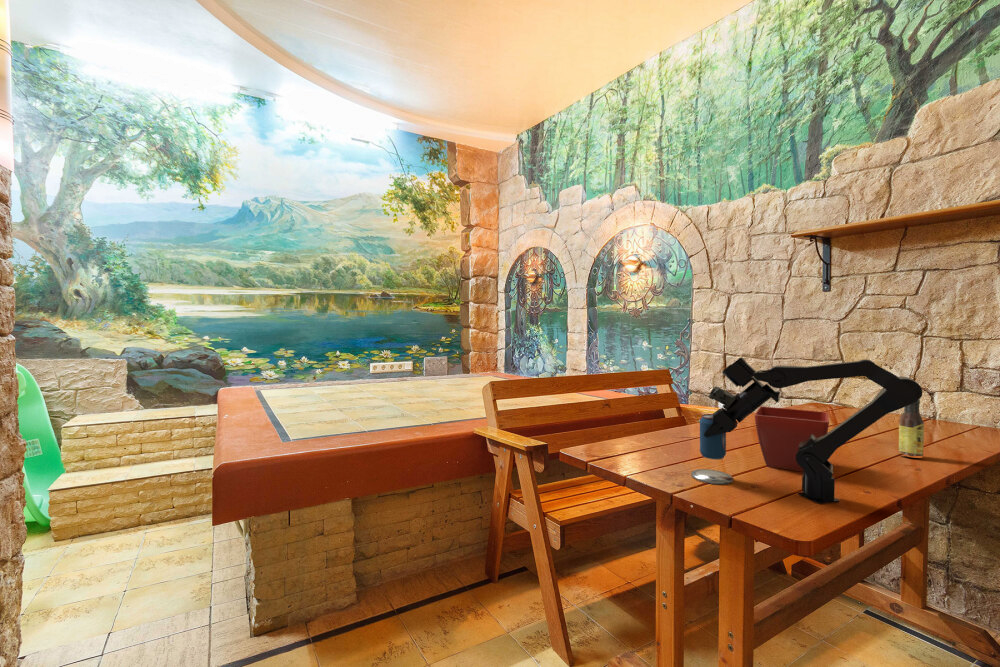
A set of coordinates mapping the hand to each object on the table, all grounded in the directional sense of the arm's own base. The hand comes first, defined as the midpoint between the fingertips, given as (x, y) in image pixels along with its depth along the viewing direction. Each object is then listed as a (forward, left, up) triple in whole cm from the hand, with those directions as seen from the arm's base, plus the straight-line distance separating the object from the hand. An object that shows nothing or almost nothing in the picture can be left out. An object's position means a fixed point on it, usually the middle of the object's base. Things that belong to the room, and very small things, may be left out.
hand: (707, 433), depth 131 cm
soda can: (-1, -1, -7) cm, 7 cm away
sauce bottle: (+5, -82, -13) cm, 83 cm away
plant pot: (+5, -34, -13) cm, 37 cm away
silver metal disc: (-1, -1, -13) cm, 13 cm away
